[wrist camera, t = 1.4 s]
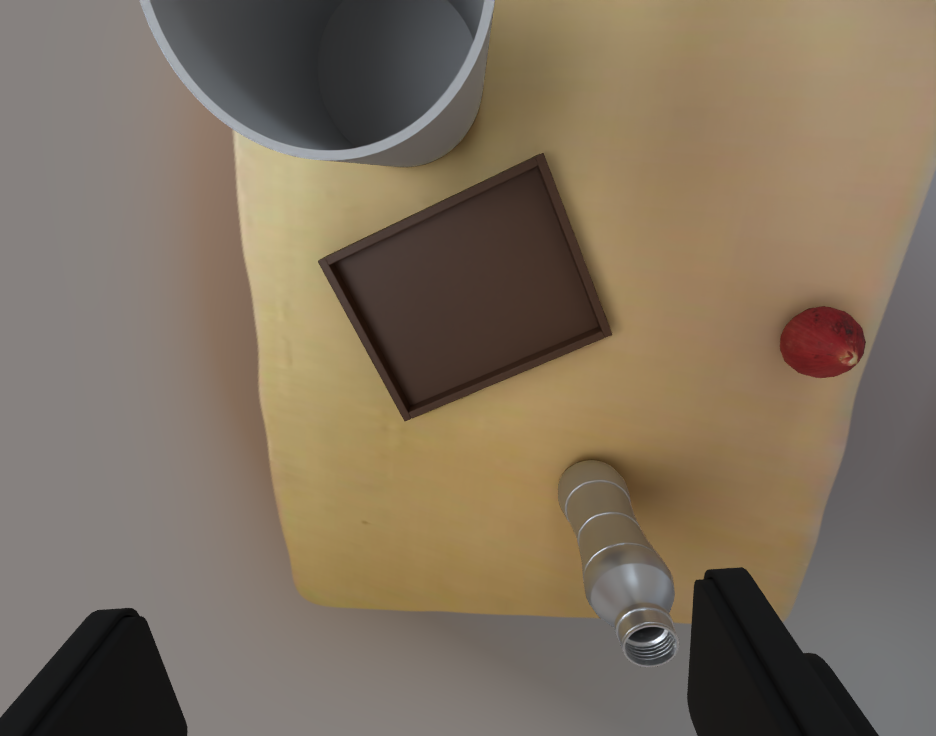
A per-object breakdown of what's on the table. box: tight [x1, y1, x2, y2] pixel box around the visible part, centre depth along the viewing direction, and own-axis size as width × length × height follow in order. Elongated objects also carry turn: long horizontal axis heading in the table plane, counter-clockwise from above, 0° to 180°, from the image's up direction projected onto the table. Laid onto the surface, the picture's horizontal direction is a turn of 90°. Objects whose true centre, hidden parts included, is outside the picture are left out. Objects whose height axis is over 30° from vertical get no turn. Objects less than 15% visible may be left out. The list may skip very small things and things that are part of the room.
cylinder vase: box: [140, 0, 495, 167], centre depth 30 cm, size 12×12×25 cm
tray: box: [318, 153, 612, 421], centre depth 47 cm, size 20×16×2 cm
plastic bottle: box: [558, 460, 679, 667], centre depth 44 cm, size 6×7×20 cm
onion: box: [780, 306, 866, 378], centre depth 45 cm, size 6×6×8 cm
